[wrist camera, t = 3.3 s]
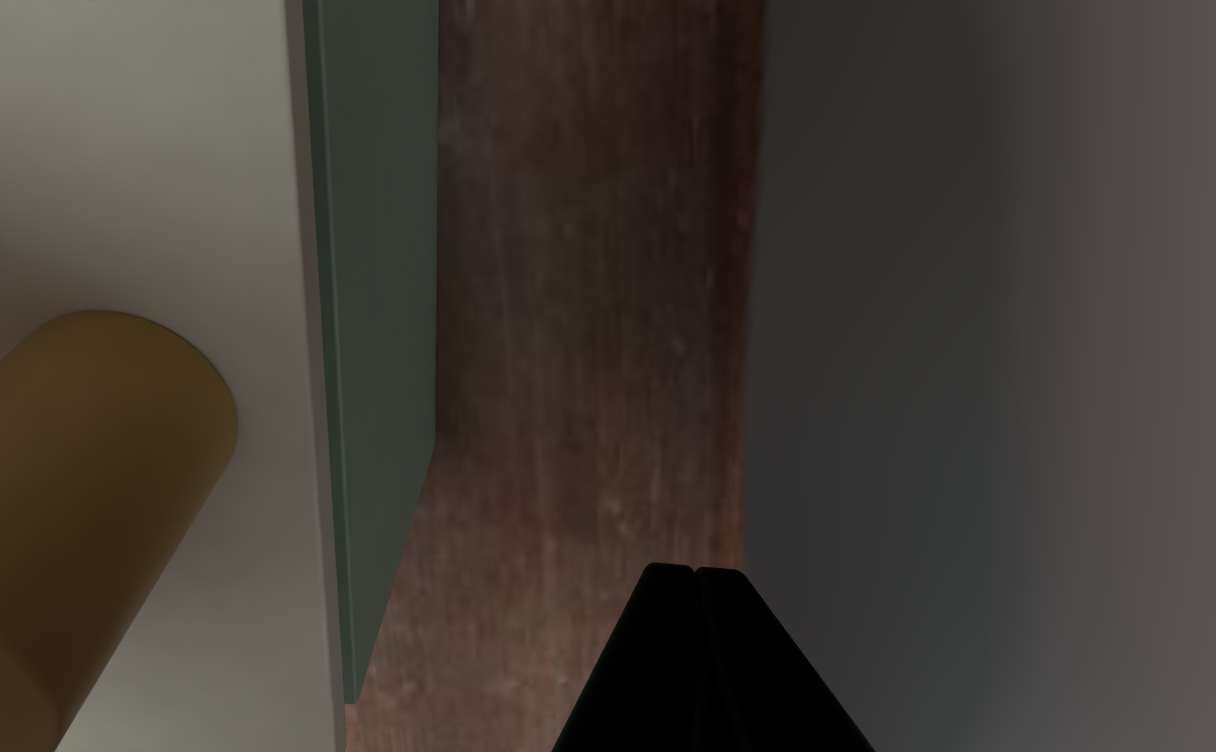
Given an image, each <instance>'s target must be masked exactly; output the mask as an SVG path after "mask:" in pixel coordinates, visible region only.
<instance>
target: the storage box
mask: <svg viewBox="0 0 1216 752" xmlns="http://www.w3.org/2000/svg"><path fill="white" fill-rule="evenodd" d="M302 6H303V23H304V40H305V56H306V73H307V90H308V106H309V123H310V140H311V157H312V173H313V190H314V207H315V223H316V240H317V257H318V273H319V290H320V307H321V323H322V340H323V357H324V373H325V390H326V407H327V424H328V440H329V457H330V474H331V490H332V507H333V524H334V540H335V557H336V574H337V590H338V607H339V624H340V640H341V657H342V674H343V691H344V703H346V704H356V703H357V701H358V699H359V695H360V692H361V689H362V685H363V682H364V679H365V676H366V672H367V669H368V666H369V662H370V659H371V656H372V652H373V649H374V646H375V642H376V639H377V636H378V632H379V629H380V626H381V622H382V619H383V616H384V612H385V609H386V606H387V602H388V599H389V596H390V593H391V589H392V586H393V583H394V579H395V576H396V573H397V569H398V566H399V563H400V559H401V556H402V553H403V549H404V546H405V543H406V539H407V536H408V533H409V529H410V526H411V523H412V520H413V516H414V513H415V510H416V506H417V503H418V500H419V496H420V493H421V490H422V486H423V483H424V480H425V476H426V473H427V470H428V466H429V463H430V460H431V456H432V453H433V450H434V446H435V443H436V311H437V173H438V35H439V0H302Z"/></svg>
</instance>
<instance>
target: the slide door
mask: <svg viewBox="0 0 1216 752" xmlns="http://www.w3.org/2000/svg"><path fill="white" fill-rule="evenodd" d="M346 746H347V741H346V724H345V707H344V691H343V674H342V657H341V640H340V624H339V607H338V590H337V574H336V557H335V540H334V524H333V507H332V490H331V474H330V457H329V440H328V424H327V407H326V390H325V373H324V357H323V340H322V323H321V307H320V290H319V273H318V257H317V240H316V223H315V207H314V190H313V173H312V157H311V140H310V123H309V106H308V90H307V73H306V56H305V40H304V23H303V6H302V0H0V752H345V750H346Z"/></svg>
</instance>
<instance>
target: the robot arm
mask: <svg viewBox="0 0 1216 752" xmlns="http://www.w3.org/2000/svg"><path fill="white" fill-rule="evenodd" d="M551 752H876V751H875V750H874V749H873V747H872V746H871V744H870V743H869V742H868V740H867V739H866V738H865V736H864V735H863V734H862V732H861V731H860V730H859V728H858V727H857V726H856V724H855V723H854V722H853V720H852V719H851V717H850V716H849V715H848V714H847V712H846V711H845V710H844V708H843V707H842V705H841V704H840V703H839V701H838V700H837V699H836V697H835V696H834V695H833V693H832V692H831V691H830V689H829V688H828V687H827V685H826V684H825V682H824V681H823V680H822V678H821V677H820V676H819V674H818V673H817V672H816V671H815V669H814V668H813V666H812V665H811V664H810V662H809V661H808V660H807V658H806V657H805V656H804V654H803V653H802V651H801V650H800V649H799V648H798V646H797V645H796V644H795V642H794V641H793V639H792V638H791V637H790V635H789V634H788V633H787V631H786V630H785V629H784V627H783V626H782V625H781V623H780V622H779V621H778V619H777V618H776V616H775V615H774V614H773V612H772V611H771V610H770V608H769V607H768V606H767V604H766V603H765V602H764V600H763V599H762V598H761V596H760V595H759V594H758V592H757V591H756V590H755V588H754V587H753V586H752V584H751V583H750V581H749V580H748V579H747V577H746V576H745V575H744V574H743V573H742V572H740V571H738V570H735V569H725V568H713V567H699V568H697V569H696V570H695V572H694V571H693V570H692V568H691V567H689V566H687V565H679V564H668V563H656V562H653V563H650V564H648V565H647V566H646V567H645V569H644V571H643V573H642V575H641V577H640V579H639V581H638V583H637V585H636V586H635V588H634V590H633V592H632V594H631V596H630V598H629V600H628V602H627V604H626V606H625V608H624V610H623V612H622V614H621V616H620V618H619V620H618V622H617V624H616V626H615V628H614V630H613V632H612V634H611V636H610V638H609V640H608V641H607V643H606V645H605V647H604V649H603V651H602V653H601V655H600V657H599V659H598V661H597V663H596V665H595V667H594V669H593V671H592V673H591V675H590V677H589V679H588V681H587V683H586V685H585V687H584V689H583V691H582V693H581V695H580V696H579V698H578V700H577V702H576V704H575V706H574V708H573V710H572V712H571V714H570V716H569V718H568V720H567V722H566V724H565V726H564V728H563V730H562V732H561V734H560V736H559V738H558V740H557V742H556V744H555V746H554V748H553V749H552V751H551Z"/></svg>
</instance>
